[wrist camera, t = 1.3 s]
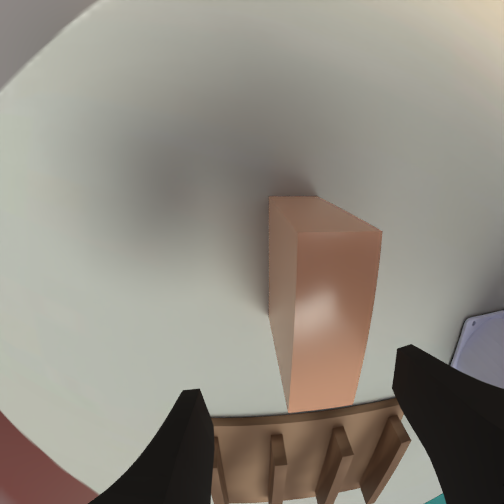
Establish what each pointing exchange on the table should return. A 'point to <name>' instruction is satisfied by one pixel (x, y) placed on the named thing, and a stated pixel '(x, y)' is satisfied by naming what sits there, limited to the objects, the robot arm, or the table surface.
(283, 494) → the dish rack
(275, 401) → the table surface
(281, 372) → the orange-brown angular block
